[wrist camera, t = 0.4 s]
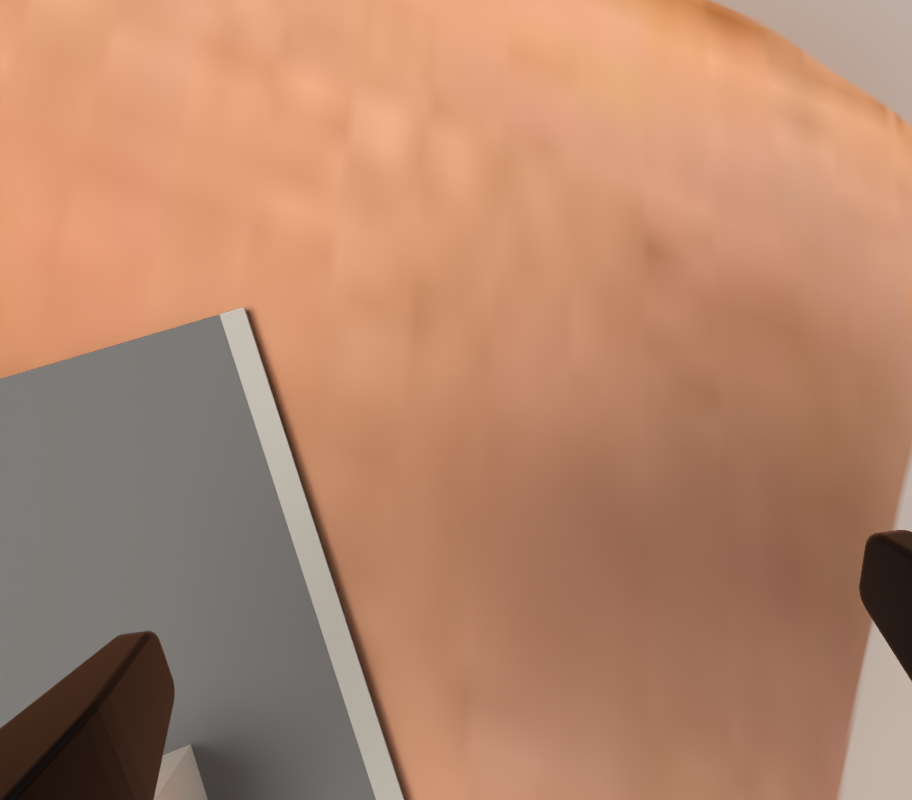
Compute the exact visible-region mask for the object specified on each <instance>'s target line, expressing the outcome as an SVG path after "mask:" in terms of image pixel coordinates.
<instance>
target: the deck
mask: <svg viewBox="0 0 912 800" xmlns="http://www.w3.org/2000/svg"><path fill="white" fill-rule="evenodd" d="M154 800H208V799H207V796H206V792H205V789H204V786H203V783H202V779H201V776H200V773H199V770H198V766H197V763H196V760H195V757H194V753H193V750H192V747H191V744H190V745H188V746H185V747H183V748H180V749H178V750H175V751H172V752H170V753H167V754H165V755H163V757H162V762H161V767H160V772H159V777H158V781H157V786H156V791H155V796H154Z"/></svg>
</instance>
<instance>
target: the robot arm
mask: <svg viewBox="0 0 912 800" xmlns="http://www.w3.org/2000/svg"><path fill="white" fill-rule="evenodd" d="M859 589H860V596H861V600H862V602H863V604H864V606H865V608H866V610H867V611H868V613H869V615H870V616H871V618H872V619H873V621H874V623H875V624H876V626H877V627H878V629H879V630H880V632H881V634H882V635H883V637H884V638H885V640H886V641H887V643H888V644H889V646H890V648H891V649H892V651H893V653H894V654H895V656H896V657H897V659H898V660H899V662H900V664H901V665H902V667H903V668H904V670H905V671H906V673H907V675H908V676H909V678H910V679H911V680H912V532H910V531H905V530H896V531H888V532H881V533H875V534H873V535H871V536H870V537H869V538H868V540H867V541H866V545H865V552H864V558H863V565H862V571H861V578H860V584H859ZM174 698H175V686H174V681H173V677H172V674H171V671H170V668H169V666H168V663H167V660H166V657H165V654H164V651H163V648H162V645H161V642H160V640H159V638H158V636H157V635H156V633H154V632H152V631H142V632H134V633H127V634H122V635H119V636H117V637H115V638H114V639H113V640H111V641H110V642H109V643H108V644H106V645H105V646H104V647H102V648H101V649H100V650H99V651H97V652H96V653H95V654H94V655H92V656H91V657H90V658H89V659H87V660H86V661H85V662H83V663H82V664H81V665H80V666H78V667H77V668H76V669H75V670H73V671H72V672H71V673H70V674H68V675H67V676H66V677H64V678H63V679H62V680H61V681H59V682H58V683H57V684H56V685H54V686H53V687H52V688H51V689H49V690H48V691H47V692H45V693H44V694H43V695H42V696H40V697H39V698H38V699H37V700H35V701H34V702H33V703H31V704H30V705H29V706H28V707H26V708H25V709H24V710H23V711H21V712H20V713H19V714H18V715H16V716H15V717H14V718H12V719H11V720H10V721H9V722H7V723H6V724H5V725H4V726H2V727H1V728H0V800H154V796H155V791H156V786H157V781H158V777H159V772H160V767H161V762H162V757H163V753H164V748H165V743H166V738H167V733H168V729H169V724H170V719H171V714H172V709H173V705H174Z"/></svg>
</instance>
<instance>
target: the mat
mask: <svg viewBox="0 0 912 800" xmlns="http://www.w3.org/2000/svg"><path fill="white" fill-rule="evenodd" d="M142 631H152V632H154V633H156V635H157V636H158V638H159V640H160V642H161V645H162V648H163V651H164V654H165V657H166V660H167V663H168V666H169V668H170V671H171V674H172V677H173V681H174V686H175V698H174V705H173V709H172V714H171V719H170V724H169V729H168V733H167V738H166V743H165V748H164V753H163V755H165V754H167V753H170V752H172V751H175V750H178V749H180V748H183V747H185V746H188V745H190V744H191V747H192V750H193V753H194V757H195V760H196V763H197V766H198V770H199V773H200V776H201V779H202V783H203V786H204V789H205V792H206V796H207V799H208V800H405V797H404V794H403V791H402V788H401V785H400V782H399V779H398V776H397V773H396V770H395V767H394V764H393V761H392V757H391V754H390V751H389V748H388V745H387V742H386V739H385V736H384V733H383V730H382V727H381V724H380V721H379V718H378V714H377V711H376V708H375V705H374V702H373V699H372V696H371V693H370V690H369V687H368V684H367V681H366V678H365V674H364V671H363V668H362V665H361V662H360V659H359V656H358V653H357V650H356V647H355V644H354V641H353V638H352V634H351V631H350V628H349V625H348V622H347V619H346V616H345V613H344V610H343V607H342V604H341V601H340V598H339V594H338V591H337V588H336V585H335V582H334V579H333V576H332V573H331V570H330V567H329V564H328V561H327V558H326V554H325V551H324V548H323V545H322V542H321V539H320V536H319V533H318V530H317V527H316V524H315V521H314V518H313V514H312V511H311V508H310V505H309V502H308V499H307V496H306V493H305V490H304V487H303V484H302V481H301V478H300V474H299V471H298V468H297V465H296V462H295V459H294V456H293V453H292V450H291V447H290V444H289V441H288V438H287V435H286V431H285V428H284V425H283V422H282V419H281V416H280V413H279V410H278V407H277V404H276V401H275V398H274V395H273V391H272V388H271V385H270V382H269V379H268V376H267V373H266V370H265V367H264V364H263V361H262V358H261V355H260V351H259V348H258V345H257V342H256V339H255V336H254V333H253V330H252V327H251V324H250V321H249V318H248V315H247V311H246V310H245V308H244V307H243V308H239V309H236V310H233V311H229V312H226V313H222V314H219V315H217V316H213V317H210V318H206V319H203V320H200V321H196V322H193V323H189V324H186V325H183V326H179V327H176V328H172V329H169V330H166V331H162V332H159V333H155V334H152V335H149V336H145V337H142V338H138V339H135V340H131V341H128V342H125V343H121V344H118V345H114V346H111V347H108V348H104V349H101V350H97V351H94V352H91V353H87V354H84V355H80V356H77V357H74V358H70V359H67V360H63V361H60V362H56V363H53V364H50V365H46V366H43V367H39V368H36V369H33V370H29V371H26V372H22V373H19V374H16V375H12V376H9V377H5V378H2V379H0V728H1V727H2V726H4V725H5V724H6V723H7V722H9V721H10V720H11V719H12V718H14V717H15V716H16V715H18V714H19V713H20V712H21V711H23V710H24V709H25V708H26V707H28V706H29V705H30V704H31V703H33V702H34V701H35V700H37V699H38V698H39V697H40V696H42V695H43V694H44V693H45V692H47V691H48V690H49V689H51V688H52V687H53V686H54V685H56V684H57V683H58V682H59V681H61V680H62V679H63V678H64V677H66V676H67V675H68V674H70V673H71V672H72V671H73V670H75V669H76V668H77V667H78V666H80V665H81V664H82V663H83V662H85V661H86V660H87V659H89V658H90V657H91V656H92V655H94V654H95V653H96V652H97V651H99V650H100V649H101V648H102V647H104V646H105V645H106V644H108V643H109V642H110V641H111V640H113V639H114V638H115V637H117V636H119V635H122V634H127V633H134V632H142Z"/></svg>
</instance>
